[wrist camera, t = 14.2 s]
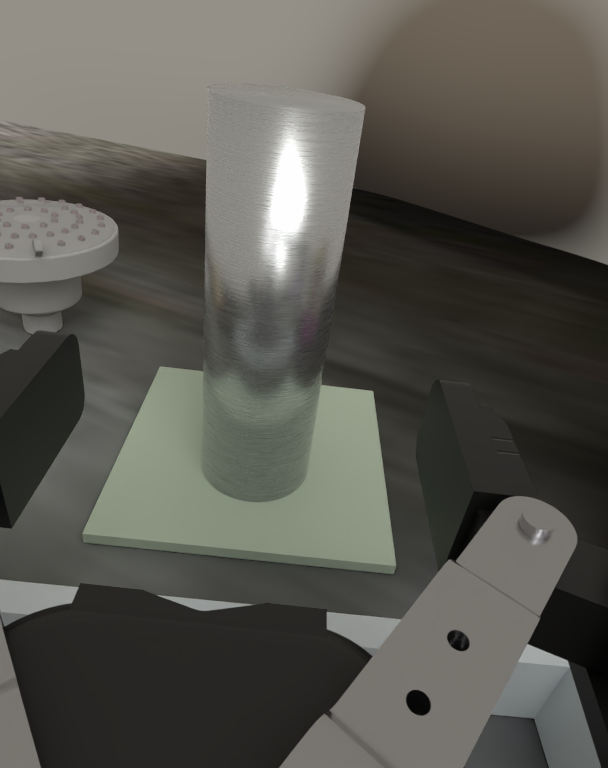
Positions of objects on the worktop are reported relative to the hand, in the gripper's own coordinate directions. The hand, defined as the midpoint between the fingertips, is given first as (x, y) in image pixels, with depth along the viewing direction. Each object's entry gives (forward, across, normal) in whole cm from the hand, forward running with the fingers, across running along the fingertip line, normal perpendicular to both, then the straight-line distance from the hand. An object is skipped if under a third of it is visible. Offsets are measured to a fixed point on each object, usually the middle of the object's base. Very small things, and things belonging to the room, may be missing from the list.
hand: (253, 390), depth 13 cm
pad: (+10, 0, +10) cm, 14 cm away
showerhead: (+19, +14, +11) cm, 26 cm away
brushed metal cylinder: (+9, 0, +10) cm, 13 cm away
